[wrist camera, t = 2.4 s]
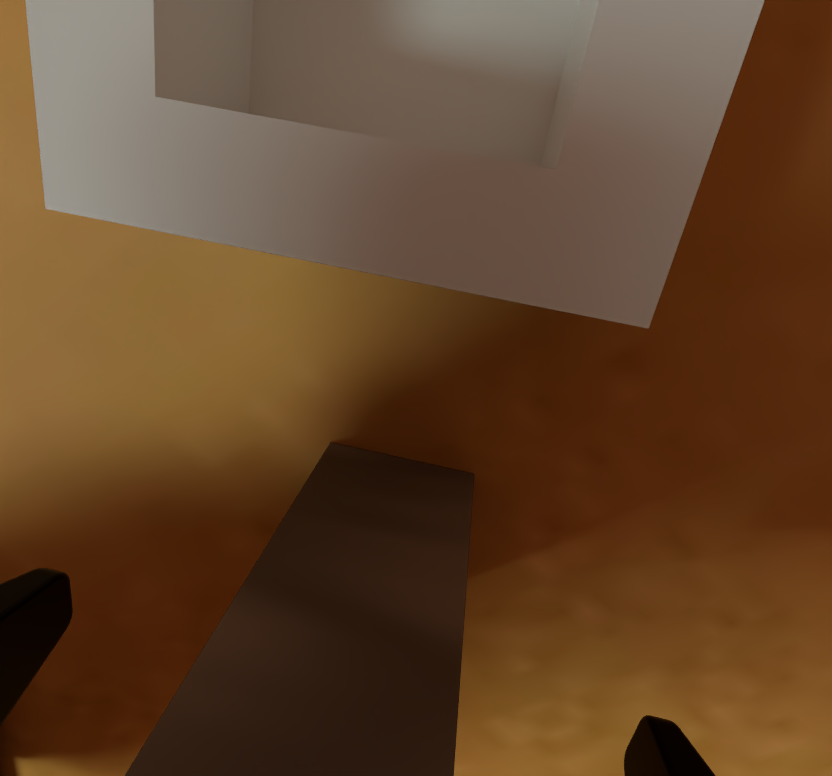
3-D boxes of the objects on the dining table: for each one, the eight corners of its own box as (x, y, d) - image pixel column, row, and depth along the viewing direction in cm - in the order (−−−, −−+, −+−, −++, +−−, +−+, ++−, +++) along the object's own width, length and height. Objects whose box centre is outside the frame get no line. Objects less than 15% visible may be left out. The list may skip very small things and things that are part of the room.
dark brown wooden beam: (316, 556, 12) (-72, 1385, 4) (330, 442, 11) (-183, 1271, 3) (445, 587, 12) (335, 1524, 4) (474, 473, 11) (405, 1468, 2)
